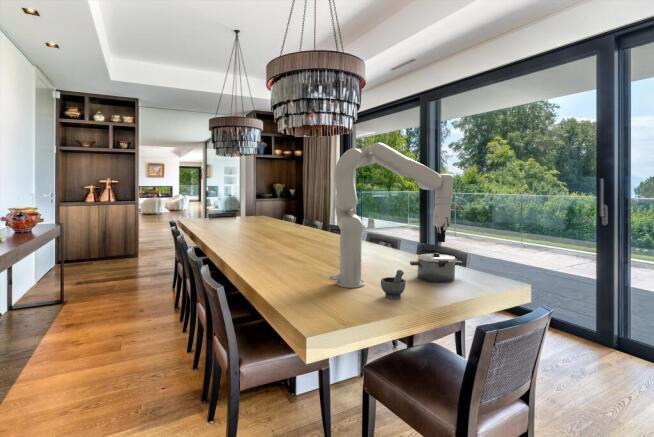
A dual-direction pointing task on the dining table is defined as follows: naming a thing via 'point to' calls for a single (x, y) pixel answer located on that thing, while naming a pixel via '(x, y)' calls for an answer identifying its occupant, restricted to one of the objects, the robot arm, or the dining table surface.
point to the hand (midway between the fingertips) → (440, 241)
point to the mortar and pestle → (393, 286)
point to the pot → (436, 271)
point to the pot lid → (436, 258)
